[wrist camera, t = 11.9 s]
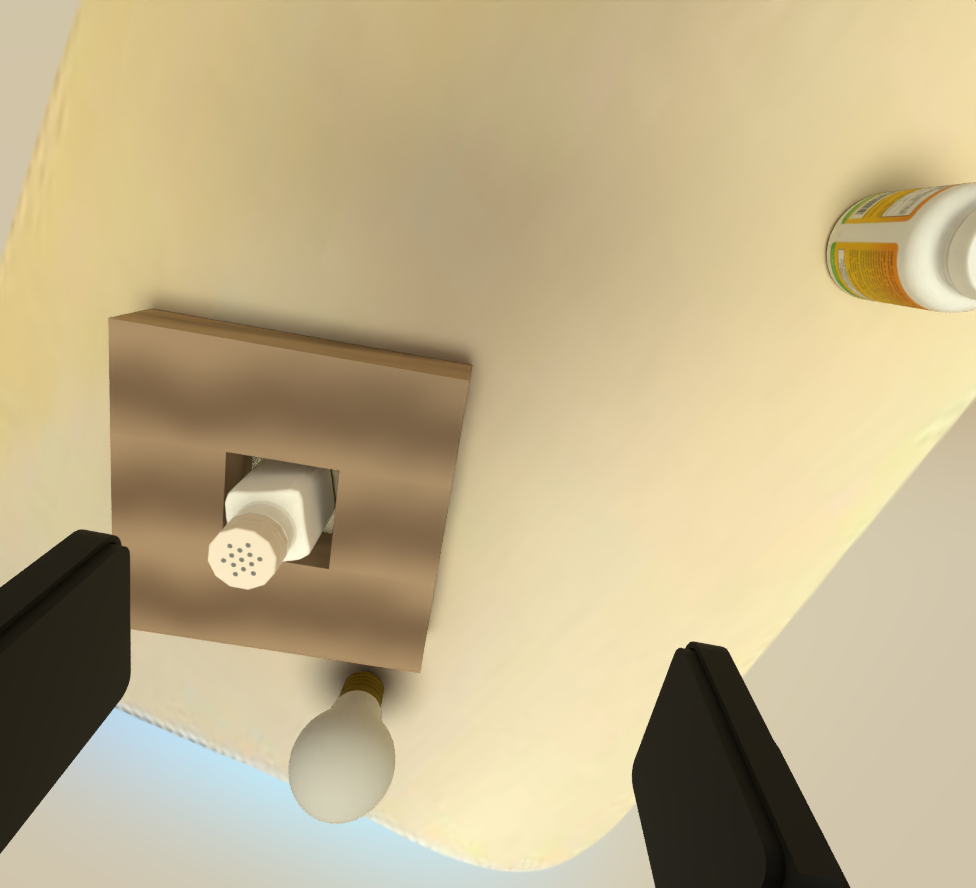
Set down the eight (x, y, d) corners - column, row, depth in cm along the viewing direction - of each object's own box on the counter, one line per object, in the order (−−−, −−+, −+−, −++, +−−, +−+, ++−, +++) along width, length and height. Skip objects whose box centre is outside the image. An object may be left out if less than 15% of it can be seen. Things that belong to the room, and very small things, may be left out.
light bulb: (309, 694, 43) (257, 826, 33) (342, 629, 41) (297, 748, 32) (388, 726, 44) (359, 864, 34) (424, 663, 42) (404, 789, 32)
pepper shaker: (330, 449, 37) (278, 518, 28) (338, 511, 38) (291, 596, 29) (263, 452, 37) (190, 521, 28) (274, 513, 38) (206, 599, 29)
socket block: (150, 308, 35) (108, 317, 31) (472, 365, 35) (469, 380, 32) (149, 589, 40) (113, 626, 36) (426, 632, 41) (420, 673, 37)
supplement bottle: (896, 310, 34) (1044, 339, 25) (806, 282, 34) (923, 300, 25) (946, 210, 33) (1124, 200, 23) (851, 178, 32) (995, 156, 23)
